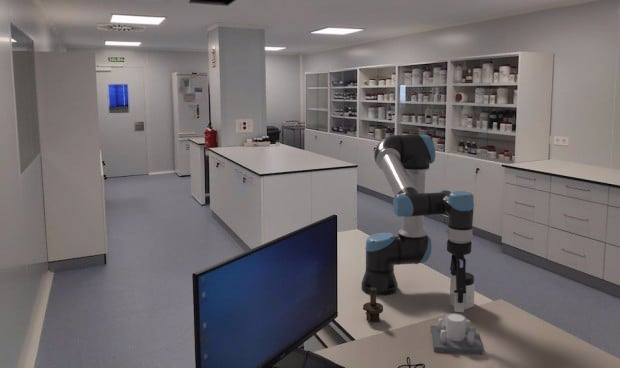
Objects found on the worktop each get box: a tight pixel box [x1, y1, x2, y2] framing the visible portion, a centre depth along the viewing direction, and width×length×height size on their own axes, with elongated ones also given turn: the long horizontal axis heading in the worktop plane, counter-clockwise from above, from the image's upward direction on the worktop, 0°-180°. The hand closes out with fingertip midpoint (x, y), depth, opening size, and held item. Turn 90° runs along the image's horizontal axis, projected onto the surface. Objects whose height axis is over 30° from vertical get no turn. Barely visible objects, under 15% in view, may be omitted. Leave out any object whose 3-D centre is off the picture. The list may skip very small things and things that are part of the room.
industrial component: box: [362, 288, 384, 323], centre depth 183 cm, size 9×7×12 cm
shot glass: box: [444, 312, 468, 341], centre depth 166 cm, size 7×7×7 cm
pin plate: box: [430, 317, 484, 355], centre depth 166 cm, size 15×15×6 cm
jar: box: [449, 272, 476, 310], centre depth 194 cm, size 9×8×12 cm
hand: (456, 302), depth 165 cm, fingers open, 13 cm apart
